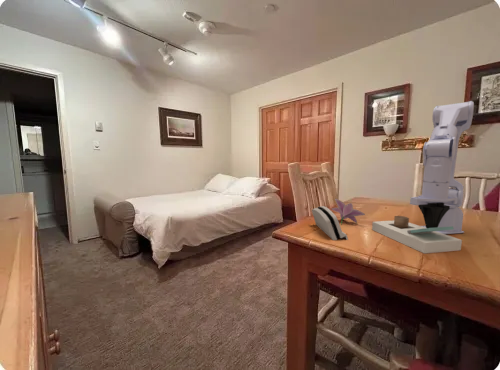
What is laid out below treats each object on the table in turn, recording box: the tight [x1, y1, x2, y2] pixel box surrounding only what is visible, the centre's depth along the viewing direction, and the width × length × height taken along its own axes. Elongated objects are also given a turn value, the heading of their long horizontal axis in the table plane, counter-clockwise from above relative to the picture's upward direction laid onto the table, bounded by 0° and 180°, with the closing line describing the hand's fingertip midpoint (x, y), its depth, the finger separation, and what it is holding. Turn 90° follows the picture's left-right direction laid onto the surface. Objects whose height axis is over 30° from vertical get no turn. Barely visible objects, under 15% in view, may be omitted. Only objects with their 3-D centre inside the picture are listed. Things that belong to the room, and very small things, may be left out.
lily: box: [331, 198, 366, 226], centre depth 86 cm, size 12×12×10 cm
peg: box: [393, 215, 410, 229], centre depth 73 cm, size 4×4×6 cm
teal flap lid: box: [407, 226, 454, 233], centre depth 63 cm, size 8×1×7 cm
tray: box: [371, 220, 463, 254], centre depth 69 cm, size 12×20×3 cm, turn 9°
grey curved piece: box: [311, 205, 349, 241], centre depth 76 cm, size 17×5×10 cm, turn 2°
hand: (431, 228), depth 62 cm, fingers closed, pressing on teal flap lid
